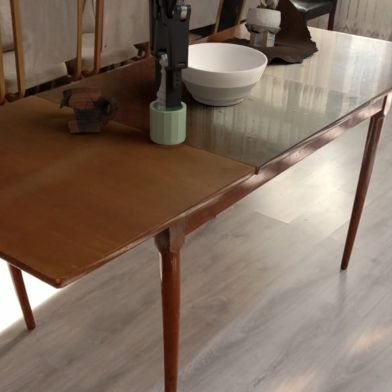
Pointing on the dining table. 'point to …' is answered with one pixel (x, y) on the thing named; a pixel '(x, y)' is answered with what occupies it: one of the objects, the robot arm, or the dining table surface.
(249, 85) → the bowl
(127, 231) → the dining table surface
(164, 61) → the rook chess piece
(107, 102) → the pottery mug
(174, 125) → the green cylindrical cup
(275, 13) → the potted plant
